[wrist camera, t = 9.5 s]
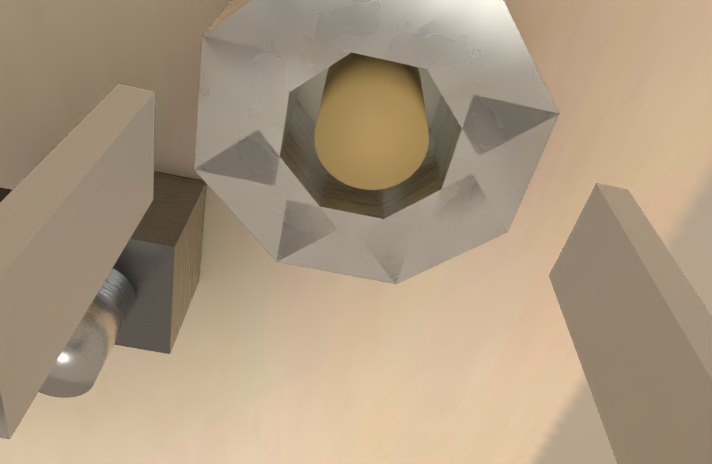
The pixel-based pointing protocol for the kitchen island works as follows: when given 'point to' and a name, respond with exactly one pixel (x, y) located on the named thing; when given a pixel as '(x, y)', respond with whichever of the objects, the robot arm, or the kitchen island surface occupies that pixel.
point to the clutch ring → (297, 129)
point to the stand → (140, 288)
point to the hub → (371, 119)
